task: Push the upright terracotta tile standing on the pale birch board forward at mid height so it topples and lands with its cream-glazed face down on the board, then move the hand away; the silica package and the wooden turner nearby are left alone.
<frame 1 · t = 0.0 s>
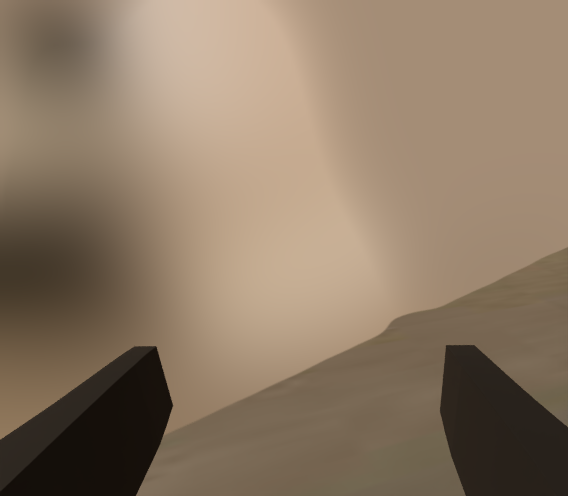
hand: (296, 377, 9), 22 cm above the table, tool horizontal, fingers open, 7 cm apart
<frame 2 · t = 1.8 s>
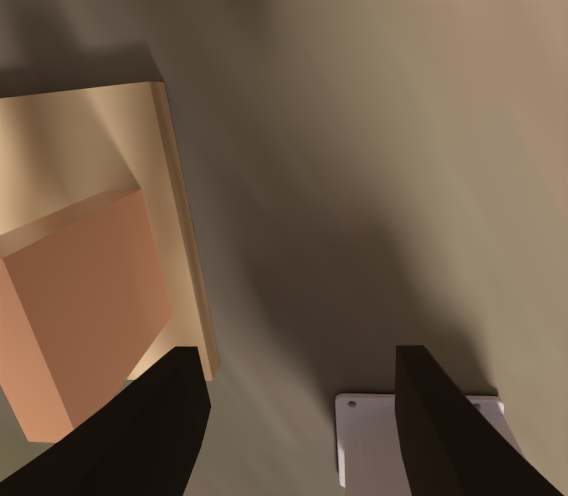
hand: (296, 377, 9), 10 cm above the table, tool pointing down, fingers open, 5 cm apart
terracotta tile: (139, 257, 19), point 1 cm above the table, touching birch board
birch board: (78, 249, 21), on the table
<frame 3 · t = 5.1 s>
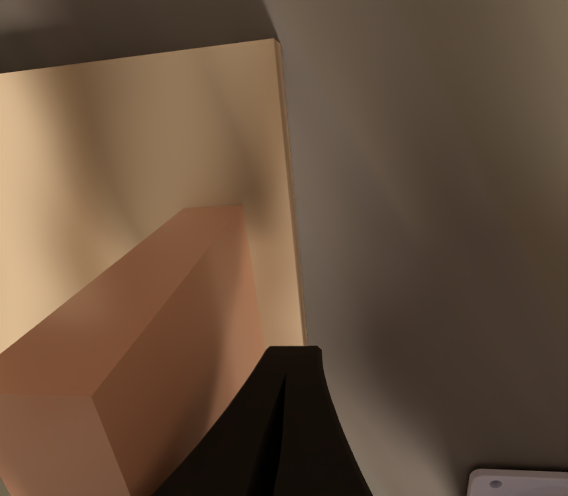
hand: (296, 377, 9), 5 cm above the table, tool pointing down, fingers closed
terracotta tile: (229, 299, 13), point 2 cm above the table, touching birch board, gripper
birch board: (133, 283, 15), on the table
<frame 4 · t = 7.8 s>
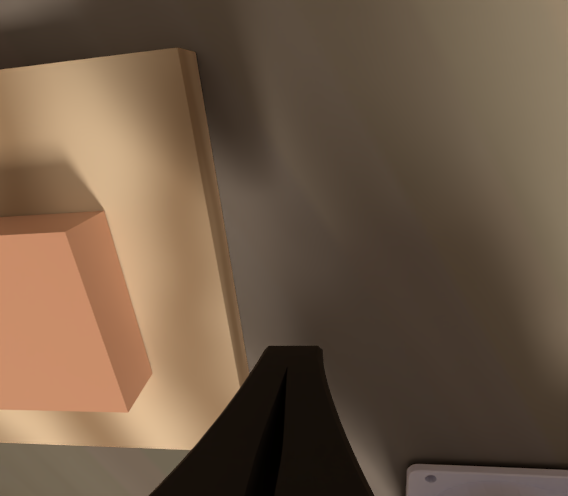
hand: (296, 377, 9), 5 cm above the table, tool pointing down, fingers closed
terracotta tile: (116, 315, 13), point 3 cm above the table, tilted 90°, touching birch board
birch board: (73, 282, 16), on the table
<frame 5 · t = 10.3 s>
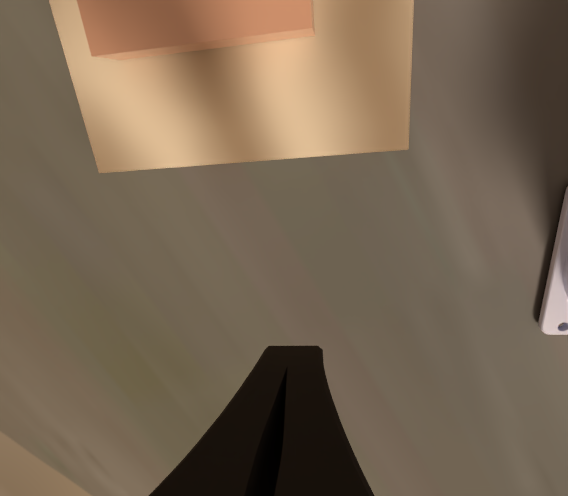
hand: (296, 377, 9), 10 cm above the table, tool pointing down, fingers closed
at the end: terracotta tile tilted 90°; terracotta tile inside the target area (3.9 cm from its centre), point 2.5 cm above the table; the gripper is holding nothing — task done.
